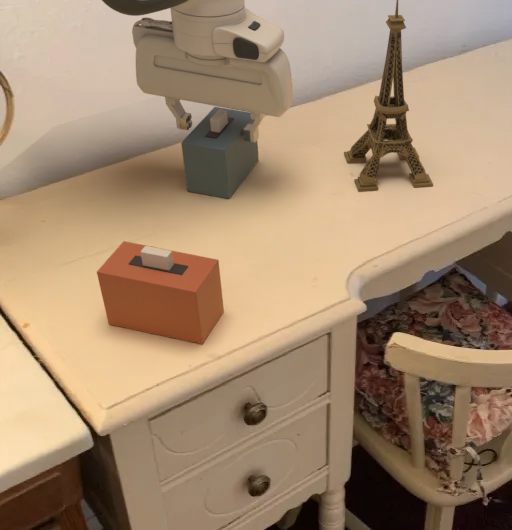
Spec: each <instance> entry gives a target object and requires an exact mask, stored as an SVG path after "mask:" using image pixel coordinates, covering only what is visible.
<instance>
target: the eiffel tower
mask: <svg viewBox="0 0 512 530" xmlns="http://www.w3.org/2000/svg"><path fill="white" fill-rule="evenodd" d="M387 17H388V19H387V20H386V21H385V23H386V26H387V28H389V35H388V41H387V42H388V43H387V47H386V55H385V61H384V65H383V66H384V67H383V71H382V77H381V83H380V87H379V88H380V89H379V95H374V98H373V104H374V107H375V110H374V113H373V116H372V120H371V121H370V123H366V125H367V130H366V131H365V132H364V133H363V134H362V135H361V136H360V137H359V138H358V139H357V140H356V141H355V143H353V144H352V146H351V147H350V149H349V150H347V151H343V155H344V158H345V161H346V163H347V164H357V163H366V164H365V166H364V167H363V168H362V170H361V171H360V173H359V175H358V176H357V178H354V180H353V181H354V184H355V187H356V189H357V192H369V191H370V192H371V191H378V190H379V186H378V181H377V176H378V175H377V174H378V171H379V167H380V162H381V159H382V158H383V157H385V156H386V155H388V154H391V153H395V154H396V153H397V155H398V157H399V159H400V161H403V160H405V162H406V164H407V166H408V168H409V170H410V172H409V175H408V178H409V181H410V182H411V185H412V187H413V188H427V187H434V183H433V181H432V179H431V177H430V175H429V173H426V169H425V168H424V166H423V164H422V162H421V160H420V155H419V153H418V152H417V150H416V148H415V147H414V146H413V144H412V143H413V142H414V141H413V140H414V139H413V138H412V136H411V135H410V132H409V130H408V119H407V112H409V111H410V109H409V104H408V103H407V102H406V100H405V92H404V91H405V90H404V72H403V51H402V50H403V49H402V48H403V47H402V45H403V43H402V31H403V30H405V29H407V26H406V24H405V21H406V20H405V18H404V16H403V15H402V14H399V0H396V3H395V12H394V14H387ZM392 87H393V96H391V95H392ZM392 119H393V120H394V121H395V123H387V121H388V120H392ZM370 150H371V154H372V155H371V157H370V158H369V160H368V161H367V156H366V154H367V153H369V151H370Z"/></svg>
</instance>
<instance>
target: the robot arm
mask: <svg viewBox="0 0 512 530" xmlns="http://www.w3.org/2000/svg"><path fill="white" fill-rule="evenodd" d="M101 1H102V2H103V3H104V4H105V5H106V6H107V7H109V9H112V10H113V11H115V12H117V13H120V14H122V15H125V16H134V17H135V16H136V17H139V16H145V15H150V14H153V13H158V12H162V11H166V10H167V9H169V10H170V17H171V20H164V19H154V18H152V17H141V19H138V20H137V21H135V22H134V24H133V25H132V28H131V29H132V30H131V34H132V40H133V44H134V47H135V79H136V84H137V86H138V88H139V89H140V91H141V92H142V93H143V94H146V95H150V96H151V95H153V96H158V97H163V98H164V99H165V105H166V107H167V108H168V110H169V111H170V112H171V114H172V115H173V117H174V118H175V122H176V129H177V130H178V129H179V130H184V131H189V130H190V129H192V126H193V121H192V113H191V112H188V111H187V112H186V110H185V107H184V106H183V105H182V103H181V101H186V102H190V103H191V102H192V103H197V104H202V105H207V106H208V105H209V106H213V107H219V108H225V109H231V110H237V111H243V112H249V113H250V118H251V119H253V120H254V119H255V121H254V122H253V124H247V125H246V127H245V128H244V129H243V134H244V141H249V142H254V143H255V142H256V141H257V142H258V140H259V138H260V137H259V135H260V134H259V126H260V125H261V123H262V122H263V121H264V119H265V117H266V116H270V117H274V118H275V117H276V118H280V117H282V116H283V115H284V114H286V112H287V111H288V110H289V109H290V107H291V105H292V103H293V101H294V100H293V99H294V92H293V91H294V90H293V78H292V70H291V66H290V61H289V57H288V55H287V53H286V52H285V51H284V50H283V49H282V46H283V44H284V41H285V32H284V29H283V28H282V27H281V26H279V25H278V24H275V23H274V22H272V21H269V20H267V19H265V18H264V17H262V16H260V15H259V14H256V13H254V12H253V11H251V10H250V9H248V8H246V2H245V0H101Z"/></svg>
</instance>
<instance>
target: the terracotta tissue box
mask: <svg viewBox="0 0 512 530" xmlns="http://www.w3.org/2000/svg"><path fill="white" fill-rule="evenodd" d="M96 276H97V280H98V284H99V288H100V293H101V297H102V301H103V306H104V310H105V314H106V319H107V324H108V325H111V326H116V327H120V328H123V329H124V328H125V329H129V330H135V331H138V332H144V333H149V334H152V335H158V336H162V337H167V338H171V339H175V340H181V341H186V342H189V343H190V342H191V343H195V344H200V345H203V344H204V343H205V341H206V340H207V338H208V337H209V335H210V333H211V332H212V331H213V329H214V327H215V326H216V325H217V322H219V320H220V319H221V317H222V315H223V314H224V312H225V308H224V299H223V289H222V281H221V270H220V261H219V259H216V258H211V257H207V256H203V255H197V254H191V253H186V252H181V251H176V250H171V249H166V248H161V247H157V246H156V247H155V246H150V245H147V244H140V243H136V242H131V241H125V240H123V241H122V242H121V244H119V246H118V247H117V248H116V249H115V250H114V251H113V252H112V253H111V255H110V256H109V257H108V258H107V259H106V261H104V263H103V264H102V265H101V266H100V267H99V268H98V270H97V271H96Z"/></svg>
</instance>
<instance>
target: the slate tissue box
mask: <svg viewBox="0 0 512 530" xmlns="http://www.w3.org/2000/svg"><path fill="white" fill-rule="evenodd" d="M254 121H255V119H254V120H253V119H251V118H250V112H247V111H241V110H236V109H230V108H224V107H219V106H213V108H212V109H211V110H210V111H209V112H208V113H207V115H205V116H204V117H203V119H201V121H199V123H198V124H197V125H196V126H195V127H194V128H193V129H192V130H191V131H190V133H189V134H187V136H185V138H184V139H183V140H182V141H181V142H180V143H181V144H180V145H181V152H182V161H183V169H184V176H185V183H186V191H187V192H191V193H195V194H196V193H197V194H201V195H206V196H212V197H217V198H223V199H227V200H229V199H231V198H232V196H233V195H234V193H235V192H236V190H238V188H239V187H240V186H241V184H242V183H243V182H244V180H245V179H246V177H247V176H248V175H249V174H250V173H251V171H252V170H253V168H254V167H255V166H256V164H257V163H258V162H259V147H258V146H259V144H258V140H257V141H256V142H255V143H254V142H249V141H244V134H243V129H244V128H245V127H246V125H247V124H253V122H254Z"/></svg>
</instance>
